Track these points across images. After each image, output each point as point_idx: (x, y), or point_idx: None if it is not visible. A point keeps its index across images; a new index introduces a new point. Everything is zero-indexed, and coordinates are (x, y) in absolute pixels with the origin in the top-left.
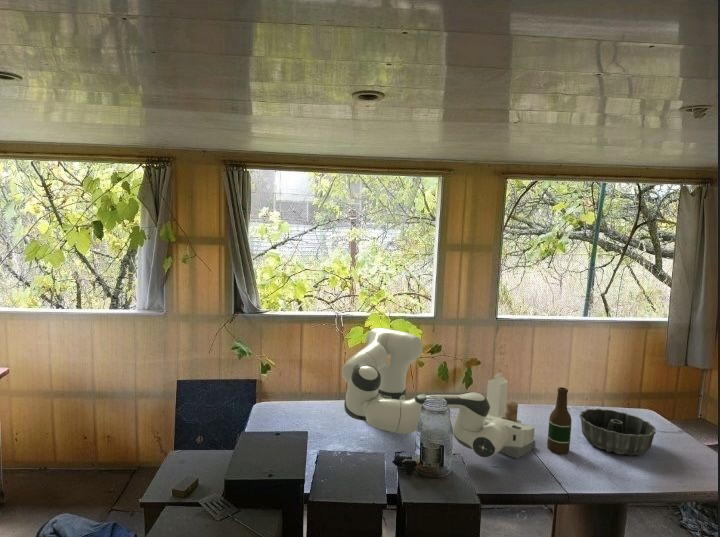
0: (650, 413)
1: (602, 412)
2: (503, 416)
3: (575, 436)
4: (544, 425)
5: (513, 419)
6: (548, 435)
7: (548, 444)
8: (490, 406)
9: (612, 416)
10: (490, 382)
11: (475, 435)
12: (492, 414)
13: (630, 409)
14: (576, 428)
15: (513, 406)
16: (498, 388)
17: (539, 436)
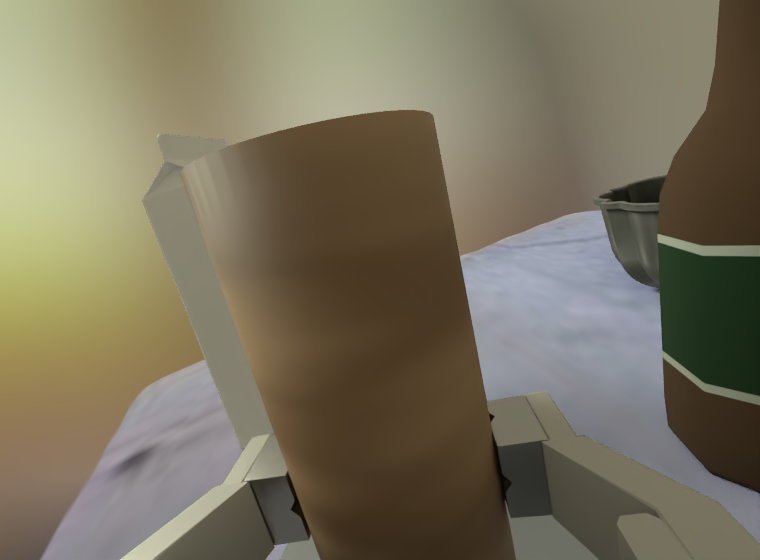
0: (594, 211)
1: (624, 195)
2: (273, 437)
3: (616, 307)
4: (475, 320)
5: (462, 452)
6: (715, 377)
7: (730, 448)
8: (223, 349)
9: (648, 198)
10: (157, 201)
11: None
12: (252, 388)
13: (558, 219)
14: (563, 284)
15: (373, 146)
16: None
17: (525, 383)
